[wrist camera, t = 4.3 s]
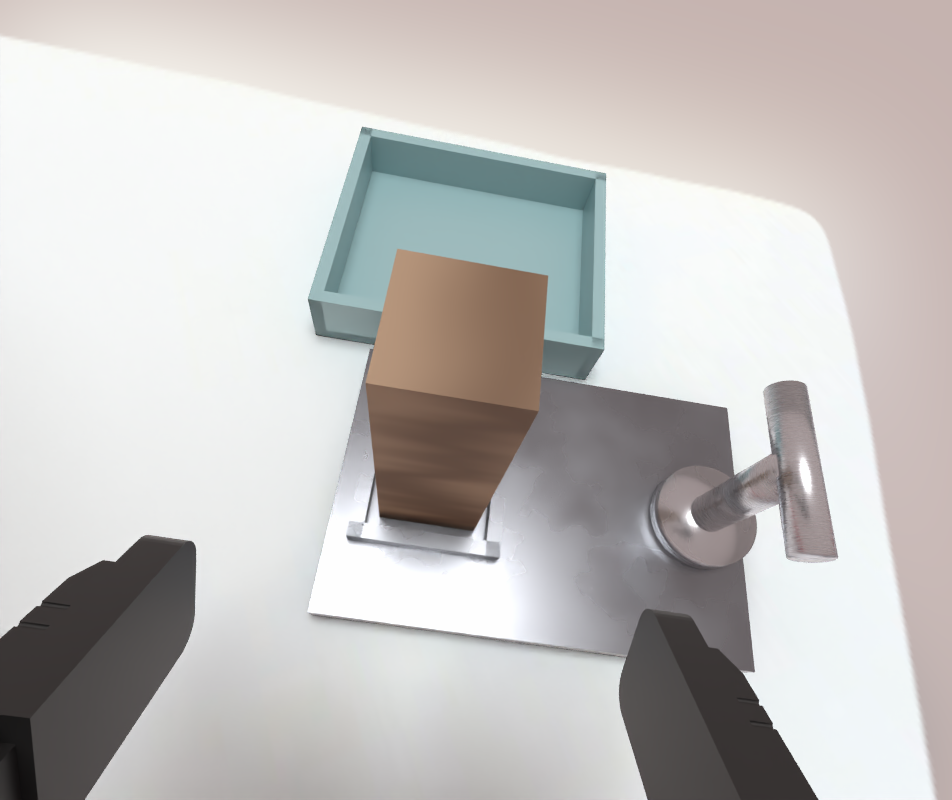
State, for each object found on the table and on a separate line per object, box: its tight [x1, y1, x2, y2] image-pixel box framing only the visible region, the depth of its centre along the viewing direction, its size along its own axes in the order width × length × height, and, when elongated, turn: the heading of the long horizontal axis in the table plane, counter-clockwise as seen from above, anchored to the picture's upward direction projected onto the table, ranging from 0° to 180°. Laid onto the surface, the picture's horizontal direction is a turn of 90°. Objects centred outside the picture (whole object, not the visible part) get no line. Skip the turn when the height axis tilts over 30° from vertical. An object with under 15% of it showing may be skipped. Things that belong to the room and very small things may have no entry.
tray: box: [308, 127, 606, 380], centre depth 30 cm, size 14×12×3 cm
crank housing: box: [307, 349, 838, 672], centre depth 22 cm, size 18×12×9 cm, turn 83°
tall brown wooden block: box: [366, 249, 548, 531], centre depth 19 cm, size 4×4×12 cm
